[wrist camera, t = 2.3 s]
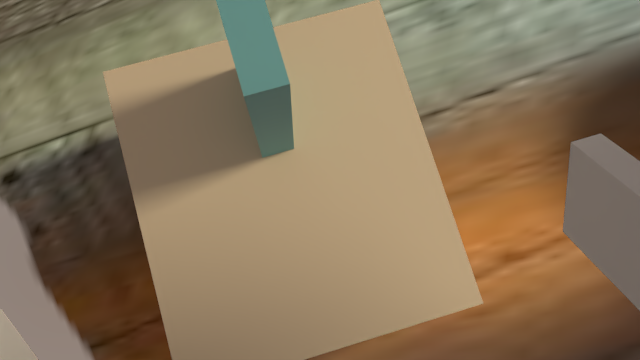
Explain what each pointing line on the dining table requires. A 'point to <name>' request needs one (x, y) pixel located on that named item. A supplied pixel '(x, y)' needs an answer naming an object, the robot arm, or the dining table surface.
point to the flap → (287, 188)
